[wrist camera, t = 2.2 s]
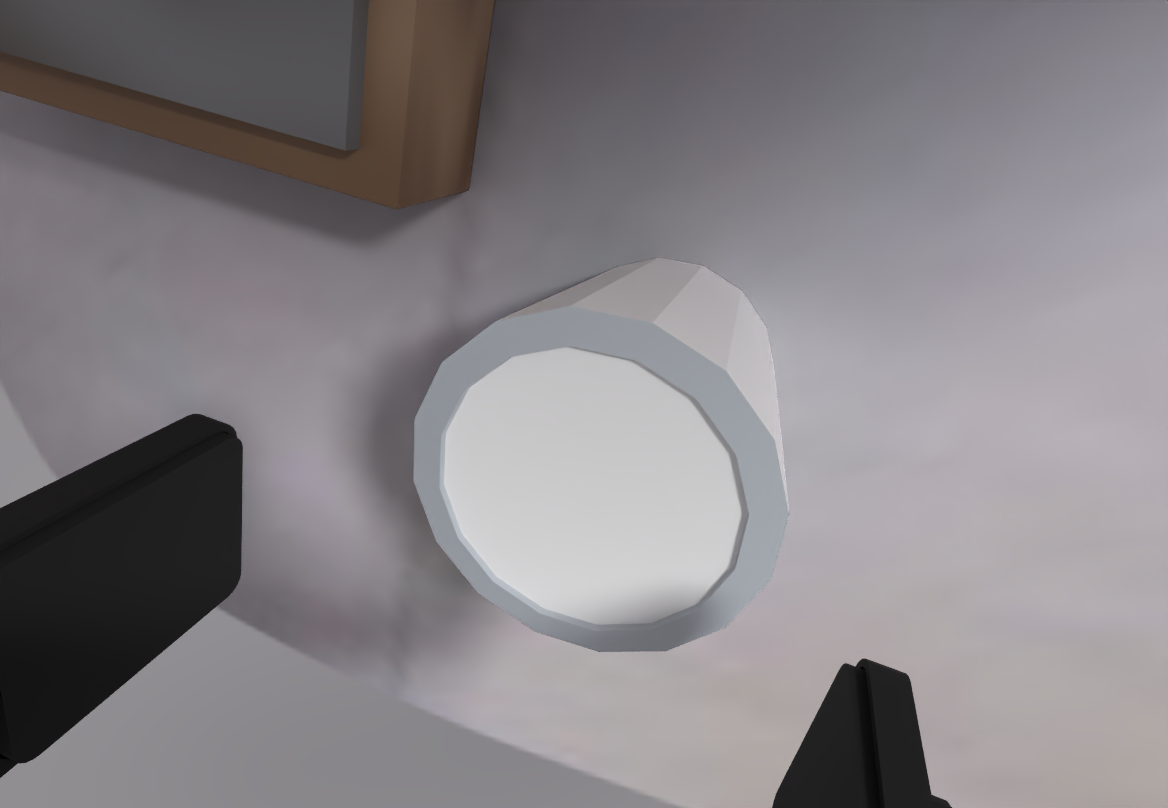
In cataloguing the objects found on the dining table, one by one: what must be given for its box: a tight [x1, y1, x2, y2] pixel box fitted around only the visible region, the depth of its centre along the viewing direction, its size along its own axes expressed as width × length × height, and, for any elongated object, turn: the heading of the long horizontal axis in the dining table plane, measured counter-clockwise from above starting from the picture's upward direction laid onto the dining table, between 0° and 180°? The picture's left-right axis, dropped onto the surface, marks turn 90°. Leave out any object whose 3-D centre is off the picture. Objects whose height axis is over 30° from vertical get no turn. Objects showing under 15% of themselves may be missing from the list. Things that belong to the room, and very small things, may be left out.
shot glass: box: [414, 258, 789, 652], centre depth 15 cm, size 7×7×7 cm
